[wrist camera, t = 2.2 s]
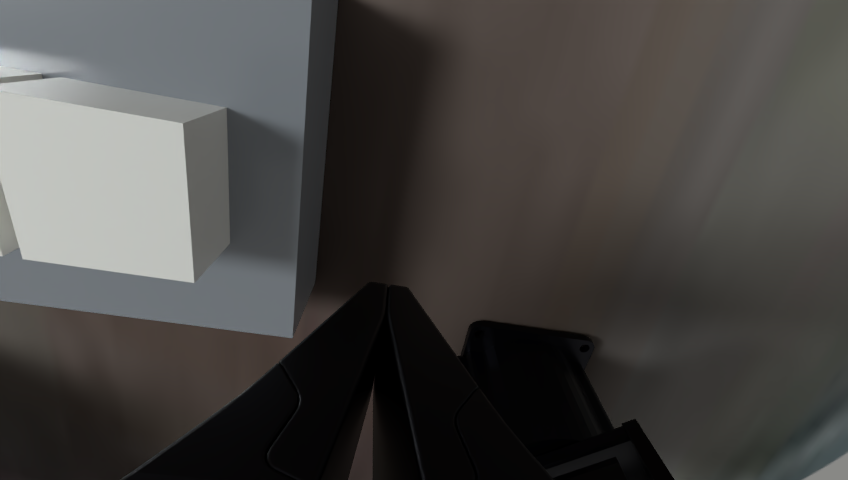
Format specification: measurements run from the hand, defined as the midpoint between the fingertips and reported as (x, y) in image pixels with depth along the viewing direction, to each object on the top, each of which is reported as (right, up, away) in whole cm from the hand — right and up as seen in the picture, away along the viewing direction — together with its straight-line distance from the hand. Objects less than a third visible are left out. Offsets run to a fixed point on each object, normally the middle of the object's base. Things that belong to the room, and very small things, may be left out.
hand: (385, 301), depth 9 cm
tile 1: (-8, +4, +4) cm, 9 cm away
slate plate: (-9, +6, +7) cm, 13 cm away
